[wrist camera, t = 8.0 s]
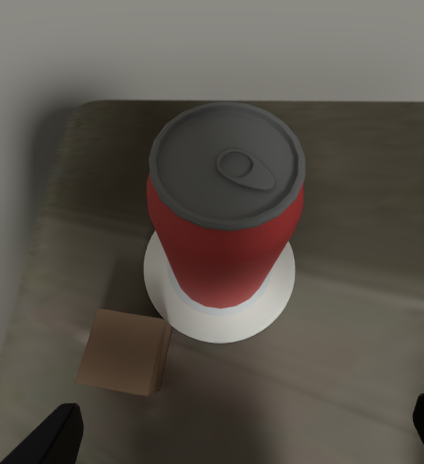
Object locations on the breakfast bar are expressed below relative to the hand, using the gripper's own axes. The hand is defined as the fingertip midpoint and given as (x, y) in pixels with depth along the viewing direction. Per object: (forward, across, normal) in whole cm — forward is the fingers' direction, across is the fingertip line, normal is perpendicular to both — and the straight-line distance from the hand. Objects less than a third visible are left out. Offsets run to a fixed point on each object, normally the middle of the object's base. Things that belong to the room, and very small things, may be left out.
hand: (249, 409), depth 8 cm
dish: (+14, 0, +3) cm, 15 cm away
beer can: (+14, 0, +2) cm, 14 cm away
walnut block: (+10, +6, +8) cm, 14 cm away
